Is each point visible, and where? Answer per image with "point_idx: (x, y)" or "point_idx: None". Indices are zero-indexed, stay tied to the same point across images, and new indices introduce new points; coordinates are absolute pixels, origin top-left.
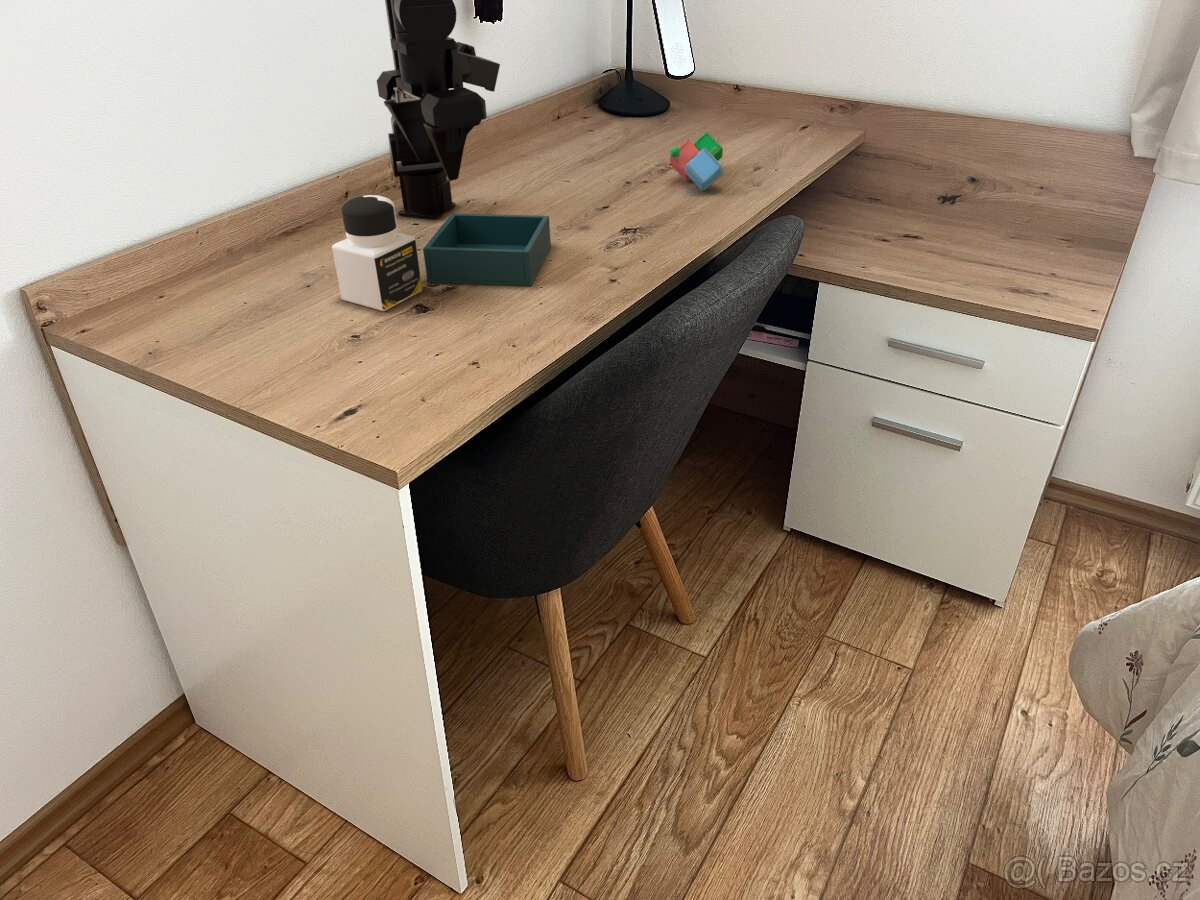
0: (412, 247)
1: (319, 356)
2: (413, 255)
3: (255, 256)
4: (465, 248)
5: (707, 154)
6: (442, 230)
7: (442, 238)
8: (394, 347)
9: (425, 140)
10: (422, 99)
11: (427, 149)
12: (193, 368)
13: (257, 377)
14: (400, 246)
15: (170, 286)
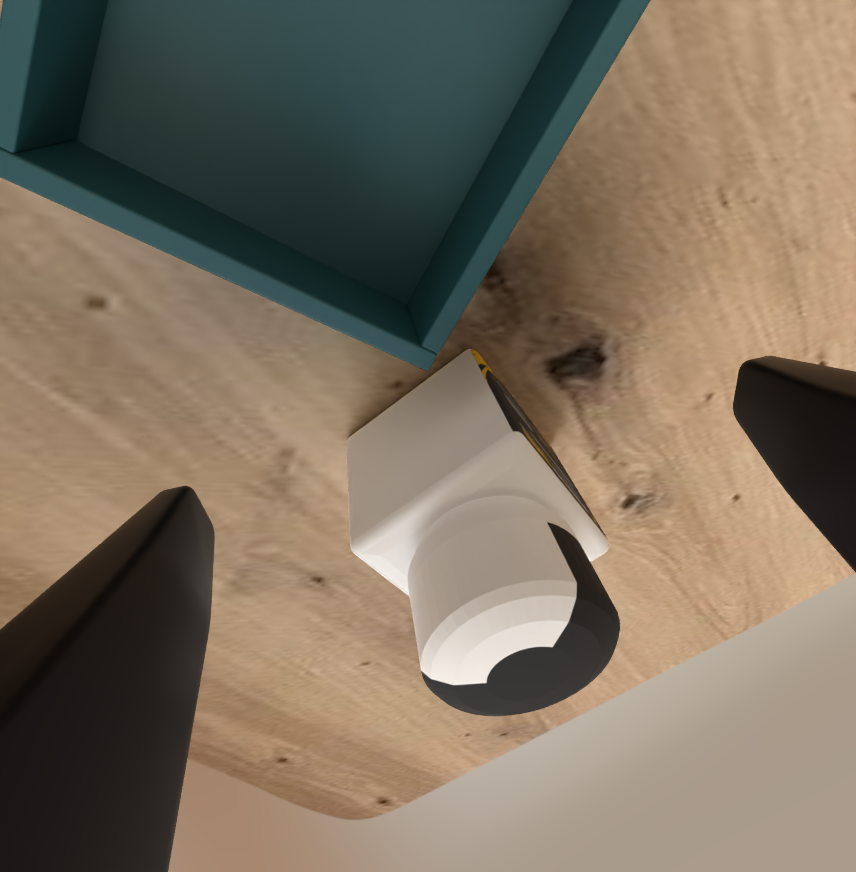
0: (523, 431)
1: (666, 554)
2: (516, 417)
3: None
4: (504, 216)
5: None
6: (248, 267)
7: (271, 266)
8: (726, 439)
9: (129, 606)
10: None
11: (163, 537)
12: (587, 689)
13: (673, 623)
14: (558, 479)
15: (233, 759)
